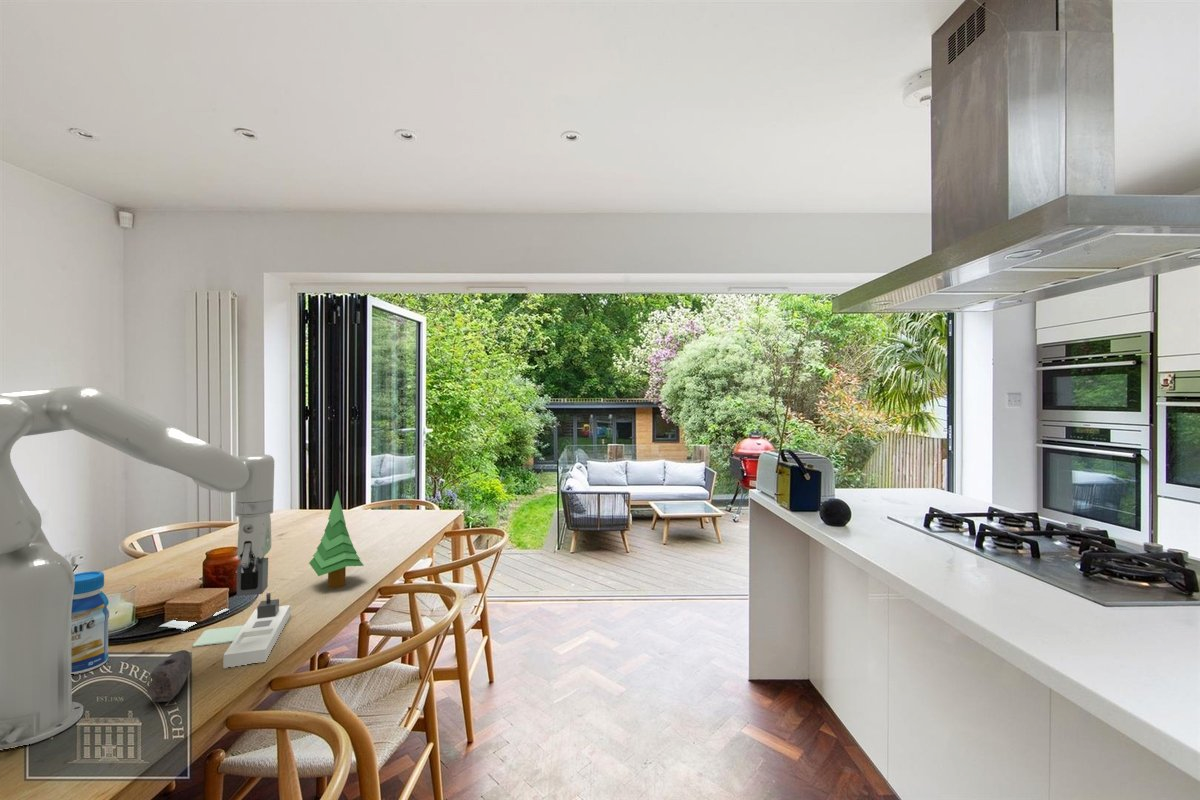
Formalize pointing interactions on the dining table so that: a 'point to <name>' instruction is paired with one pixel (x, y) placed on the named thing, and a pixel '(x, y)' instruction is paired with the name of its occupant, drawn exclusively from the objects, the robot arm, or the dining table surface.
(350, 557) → the decorative tree
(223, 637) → the mat
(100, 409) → the robot arm
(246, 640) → the power strip
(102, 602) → the supplement bottle
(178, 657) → the perforated stone tool
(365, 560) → the dining table surface
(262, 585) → the charger
